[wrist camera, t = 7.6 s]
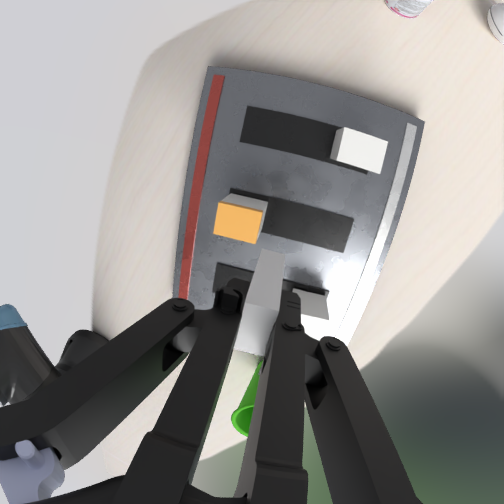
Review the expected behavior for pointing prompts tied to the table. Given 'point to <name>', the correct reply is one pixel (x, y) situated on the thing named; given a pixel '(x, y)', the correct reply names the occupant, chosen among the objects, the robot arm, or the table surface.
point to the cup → (246, 405)
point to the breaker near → (359, 149)
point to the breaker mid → (240, 218)
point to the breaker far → (313, 313)
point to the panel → (292, 189)
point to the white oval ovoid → (497, 21)
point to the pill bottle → (407, 7)
